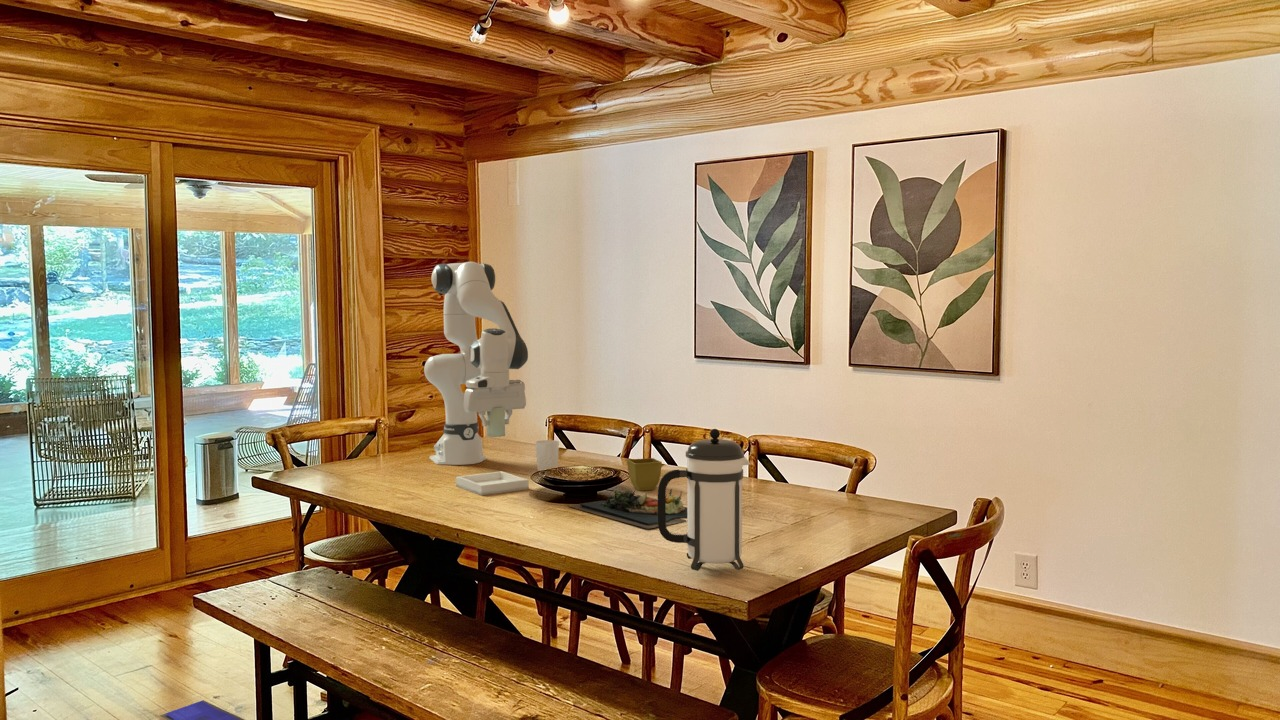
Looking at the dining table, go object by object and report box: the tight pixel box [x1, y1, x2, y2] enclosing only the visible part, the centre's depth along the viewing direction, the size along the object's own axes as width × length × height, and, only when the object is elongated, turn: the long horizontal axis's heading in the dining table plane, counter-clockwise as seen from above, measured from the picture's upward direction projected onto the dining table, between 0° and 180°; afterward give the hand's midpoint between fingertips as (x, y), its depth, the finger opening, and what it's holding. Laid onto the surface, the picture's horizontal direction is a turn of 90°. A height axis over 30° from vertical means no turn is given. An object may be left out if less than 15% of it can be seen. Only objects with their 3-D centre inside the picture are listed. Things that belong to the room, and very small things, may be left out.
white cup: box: [535, 439, 560, 472], centre depth 323 cm, size 8×8×10 cm
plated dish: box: [567, 488, 687, 530], centre depth 263 cm, size 35×28×7 cm
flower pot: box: [626, 457, 663, 492], centre depth 290 cm, size 9×9×9 cm
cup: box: [486, 407, 506, 438], centre depth 293 cm, size 6×6×9 cm
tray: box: [455, 470, 530, 496], centre depth 293 cm, size 18×16×3 cm
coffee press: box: [657, 428, 751, 572], centre depth 206 cm, size 17×16×30 cm
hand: (495, 425), depth 293 cm, fingers closed on cup, 6 cm apart
